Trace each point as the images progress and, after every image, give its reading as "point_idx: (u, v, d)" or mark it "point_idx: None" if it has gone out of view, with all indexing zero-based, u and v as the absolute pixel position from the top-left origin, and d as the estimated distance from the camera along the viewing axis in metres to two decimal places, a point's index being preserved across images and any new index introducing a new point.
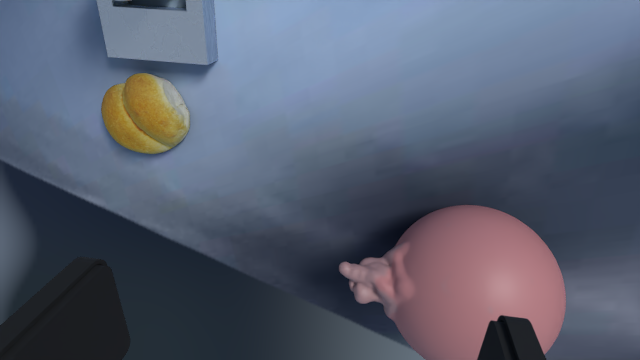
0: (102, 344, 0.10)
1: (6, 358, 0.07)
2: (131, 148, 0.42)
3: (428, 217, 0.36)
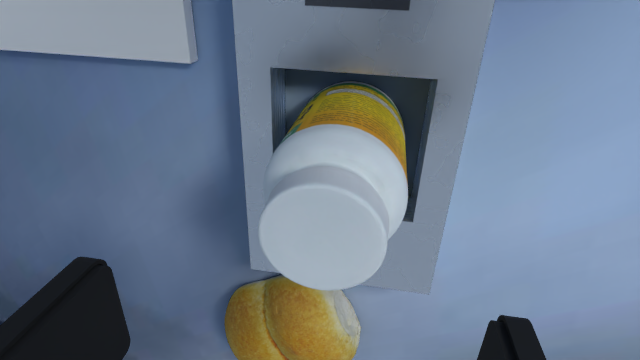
0: (102, 344, 0.10)
1: (6, 358, 0.07)
2: None
3: None
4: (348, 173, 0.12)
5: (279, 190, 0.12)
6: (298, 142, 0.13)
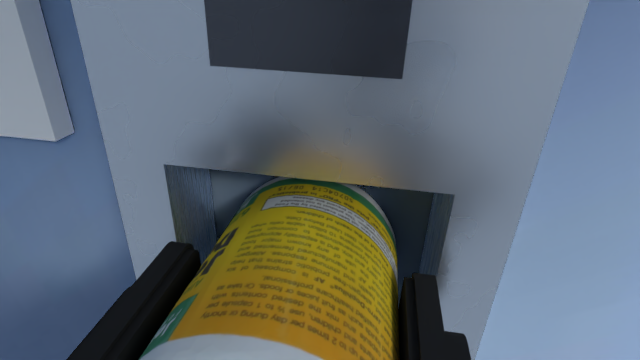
0: None
1: (132, 329, 0.08)
2: None
3: None
4: None
5: None
6: None
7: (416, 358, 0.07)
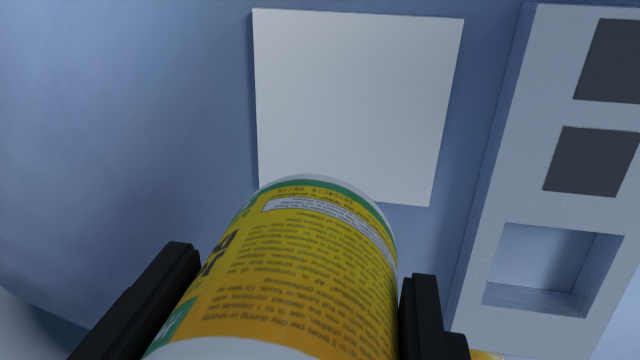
0: None
1: (132, 329, 0.08)
2: None
3: None
4: None
5: None
6: None
7: (416, 358, 0.07)
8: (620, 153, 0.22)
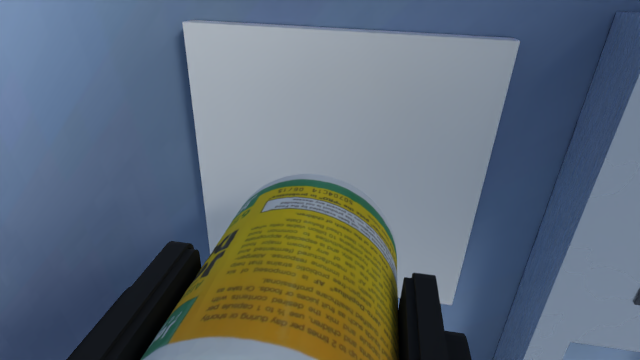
0: None
1: (132, 329, 0.08)
2: None
3: None
4: None
5: None
6: None
7: (416, 358, 0.07)
8: None
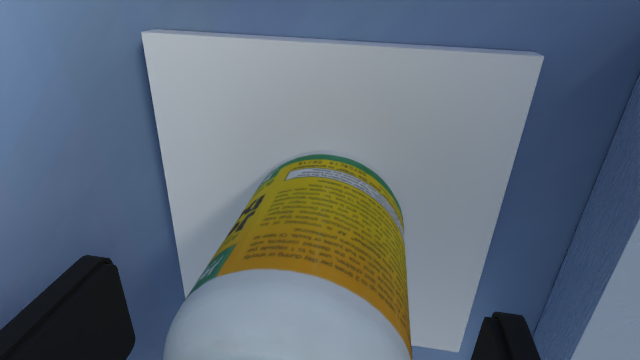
0: (108, 342, 0.10)
1: (15, 355, 0.07)
2: None
3: None
4: None
5: None
6: (214, 309, 0.07)
7: None
8: None
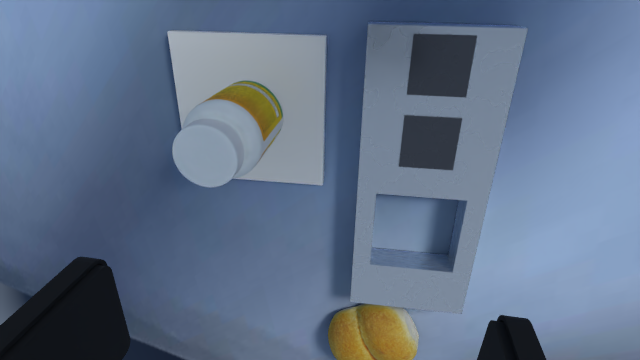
0: (102, 344, 0.10)
1: (6, 358, 0.07)
2: None
3: None
4: (218, 121, 0.23)
5: (181, 130, 0.23)
6: (197, 109, 0.24)
7: None
8: (449, 135, 0.28)
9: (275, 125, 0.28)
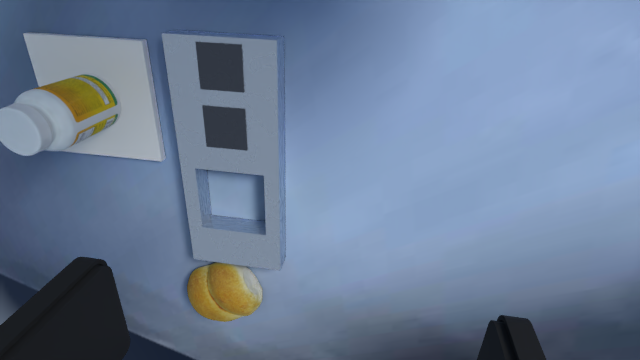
0: (102, 344, 0.10)
1: (6, 358, 0.07)
2: (212, 319, 0.48)
3: None
4: (26, 105, 0.30)
5: None
6: (19, 96, 0.32)
7: None
8: (239, 122, 0.36)
9: (101, 110, 0.36)
